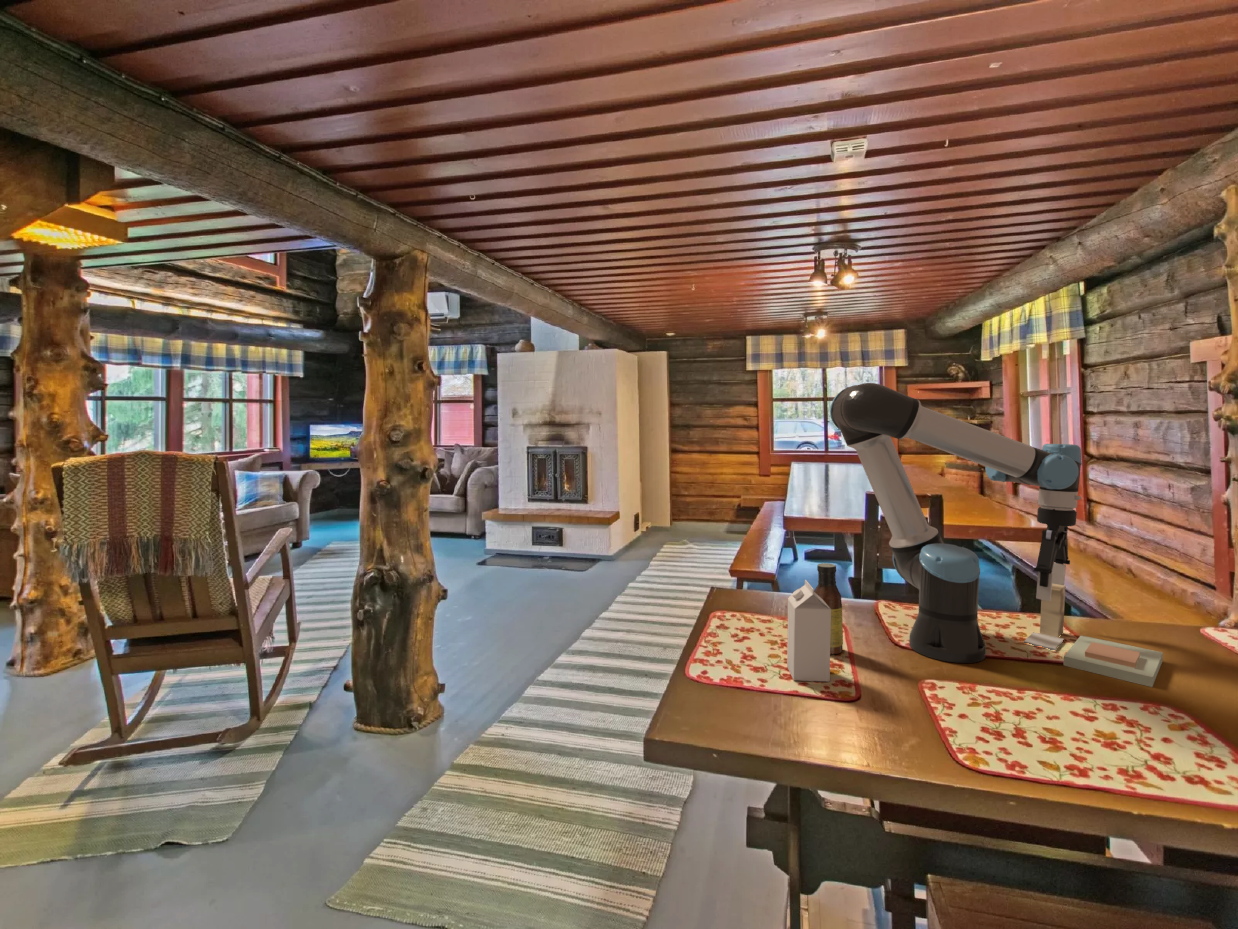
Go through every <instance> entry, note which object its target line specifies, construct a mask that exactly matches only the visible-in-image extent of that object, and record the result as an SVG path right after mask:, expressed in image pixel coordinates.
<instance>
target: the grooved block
mask: <svg viewBox="0 0 1238 929" xmlns="http://www.w3.org/2000/svg"><path fill="white" fill-rule="evenodd" d="M1091 642H1094V643H1099V644H1104V645H1108V646H1113V647H1118V648H1122V649H1127V650H1132V651H1136V652H1140V659H1139V661H1138V663H1137V665H1136V668H1135V669H1133V668H1129V667H1125V666H1120V665H1116V664H1112V663H1107V662H1103V661H1099V660H1094V659H1090V658H1086V657H1085V651H1086V650H1087V648H1088V647H1089V645H1090V644H1091ZM1163 656H1164V652H1163V651H1157V650H1153V649H1148V648H1143V647H1140V646H1133V645H1129V644H1125V643H1120V642H1116V641H1111V640H1105V639H1102V638H1096V637H1091V636H1086V635H1082V634H1080V636H1079V637H1078V638H1077V639H1076V641H1075V642H1074V643H1073V644H1072V645H1071V647H1070V648H1069V649H1068V650H1067V652H1066V653H1065V654H1064V655H1063V666H1065V667H1069V668H1072V669H1077V670H1081V671H1085V672H1089V673H1093V674H1096V675H1097V674H1098V675H1101V676H1104V677H1110V678H1113V679H1118V680H1121V681H1126V682H1129V683H1133V684H1138V685H1141V686H1146V687H1148V688H1149V687H1150V688H1153V687H1154V684H1155V681H1156V679H1157V677H1158V673H1159V671H1160V669H1161V666H1162V663H1163V662H1164V660H1163V658H1164V657H1163Z"/></svg>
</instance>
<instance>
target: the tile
mask: <svg viewBox="0 0 1238 929" xmlns="http://www.w3.org/2000/svg"><path fill="white" fill-rule="evenodd" d="M1085 657H1086V658H1090V659H1094V660H1099V661H1103V662H1107V663H1112V664H1116V665H1120V666H1125V667H1129V668H1133V669H1135V668H1136V665H1137V663H1138V661H1139V659H1140V652H1136V651H1132V650H1127V649H1122V648H1118V647H1113V646H1108V645H1104V644H1099V643H1094V642H1091V644H1090V645H1089V647H1088V648H1087V650H1086V651H1085Z"/></svg>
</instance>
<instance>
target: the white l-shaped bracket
mask: <svg viewBox="0 0 1238 929" xmlns="http://www.w3.org/2000/svg"><path fill="white" fill-rule="evenodd" d="M1065 602H1066V585H1065V584H1064V585H1059V584H1052V592H1051V601H1046V600H1041V599H1040V620H1039V623H1040V624H1039V632H1035V631H1034V632H1032V633H1031V634H1030V635H1029V636H1028V637H1026V639H1025V640H1023V644H1024V643H1029V644H1032V645H1034V646H1042V647H1044V648H1048V649H1050V650H1049V651H1051V650H1056V649H1057V647H1058V646H1059V645H1060V644H1061V643H1062V642H1063V640H1064V641H1065V638H1063V637H1061V636H1062V635H1063V634H1064V623H1065V622H1064V620H1065ZM1062 633H1063V634H1062ZM1061 634H1062V635H1061ZM1060 635H1061V636H1060ZM1059 636H1060V638H1059ZM1063 643H1064V642H1063ZM1063 643H1062V644H1063ZM1062 644H1061V645H1062ZM1061 645H1060V646H1061ZM1034 646H1033V647H1034ZM1060 646H1059V647H1060ZM1059 647H1058V648H1059ZM1057 650H1058V649H1057ZM1057 650H1056V651H1057Z"/></svg>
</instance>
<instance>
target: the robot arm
mask: <svg viewBox="0 0 1238 929" xmlns="http://www.w3.org/2000/svg"><path fill="white" fill-rule="evenodd" d="M829 414H830V419H831V421H832V423H833V424H834V427H836V429H837V428H838V430H840V432H841V435H842V437H843V440H844V442H845V445H846V446H847V447H849V448H851V449H854V450H855V451H856V454H857V456H858V458H859V460H860V463H861V465H862V468H863V470H864V472H865V475H866V476H867V479H868V482H869V484H870V487H871V488H872V490H873V493H874V495H875V499H876V500H877V502H878V505H879V507H880V510H881V512H882V514H883V517H884V519H885V522H886V523H887V525H888V529H889V531H890V534H891V538H890V540H889V542H888V545H889V547H890V549H891V553H892V564H893V566H894V568H895V570H896V572H897V573H898V575H899V576H900V577H901V579H903V580H904V581H905V582H907V583H908V584H911V586H913V587H915V588H916V589H917V590H918V591H919V592H918V598H919V599H918V613H917V616H916V618H915V621H914V623H913V624H912V625H913V626H912V628H911V631H910V632H909V636H908V637H909V639H908V640H909V642H908V644H909V647H910V649H912V650H913V651H914V652H917V653H918V654H920V655H923V656H925V657H928V658H930V659H935V660H938V661H942V662H949V663H959V664H974V663H979V662H981V661H982V662H983V661H984V659H985V658H986V650H987V648H986V644H985V641H984V637H983V635H982V631H981V629H980V625H979V622H978V612H979V592H980V589H979V588H980V575H981V568H980V559H979V557H978V555H977V554H976V553H975V552H973V551H972V550H971V549H969V548H966V547H963V546H958V545H956V544H952V543H951V544H950V543H944V541H943V539H942V537H941V534H940V533H939V531H938V528H936V527H934V526H931V525H929V524H928V520H927V518H926V516H925V514H924V512H923V509H922V507H921V505H920V503H919V500H918V498H917V495H916V493H915V491H914V488H913V485H912V484H911V481H910V480H909V476H908V475H907V472H906V470H905V469H906V468H905V467H904V464H903V463H902V461H901V458H900V456H899V453H898V450H897V449H896V446H895V443H894V441H893V439H898V440H903V439H906V438H907V439H909V440H913V441H915V442H918V443H921V444H924V445H927V446H929V447H932V448H935V449H937V450H940V451H943V452H945V453H949V454H951V455H954V456H956V457H959V458H962V459H965V460H968V461H970V462H973V463H976V464H978V465H981V466H984V468H985V473H986V476H987V478H988V479H989V480H991V481H993V482H1002V483H1005V482H1007V483H1017V484H1023V485H1029V486H1034V487H1038V495H1037V496H1038V499H1037V504H1038V506H1039V507H1038V508H1037V513H1036V521H1037V523H1040V524H1042V525H1044V524H1045V525H1046V526H1047V527H1046V529H1042V531H1041V540H1040V546H1039V551H1038V552H1039V553H1038V557H1037V563H1036V566H1034V568H1033V571H1034V572H1037V582H1036V595H1035V599H1037V600H1040V601H1041V600H1046V601H1051V592H1052V584H1059V585H1065V580H1066V579H1065V577H1066V567H1067V565H1070V564H1071V560H1070V559H1069V545H1068V540H1069V539H1068V530H1069V527H1074V526H1076V524H1077V511H1076V510H1075V509H1076V508H1078V501H1081V499H1082V496H1080V495H1079V486H1080V477H1081V467H1082V449H1081V447H1080V445H1078V444H1070V443H1067V444H1066V443H1045V444H1043V445H1042V449H1040V448H1038V447H1034V446H1031V445H1029V444H1026V443H1024V442H1021V441H1018V440H1017V439H1016V440H1015V439H1013V438H1010V437H1007V436H1005V435H1002V434H999V433H997V432H994V431H991V430H988V429H986V428H982V427H980V426H977V425H974V424H971V423H969V422H967V421H963V420H961V419H958V418H955V417H953V416H950V415H947V414H944V413H942V412H939V411H936V410H934V409H931V408H928V407H925V406H923V405H922V403H921V401H920V400H919V399H917V398H914V397H912V396H908V395H906V394H904V393H902V392H900V391H897V390H894V389H893V388H890V387H888V386H885V385H884V384H880V383H875V382H864V383H860V384H855V385H854V384H853V385H852V386H851V385H850V386H847V387H846V388H844V389H842V390H840V392H838V393H837V394H836V395H835V396H834V398H833V399H832V401H831V403H830V409H829ZM892 438H893V439H892Z"/></svg>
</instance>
